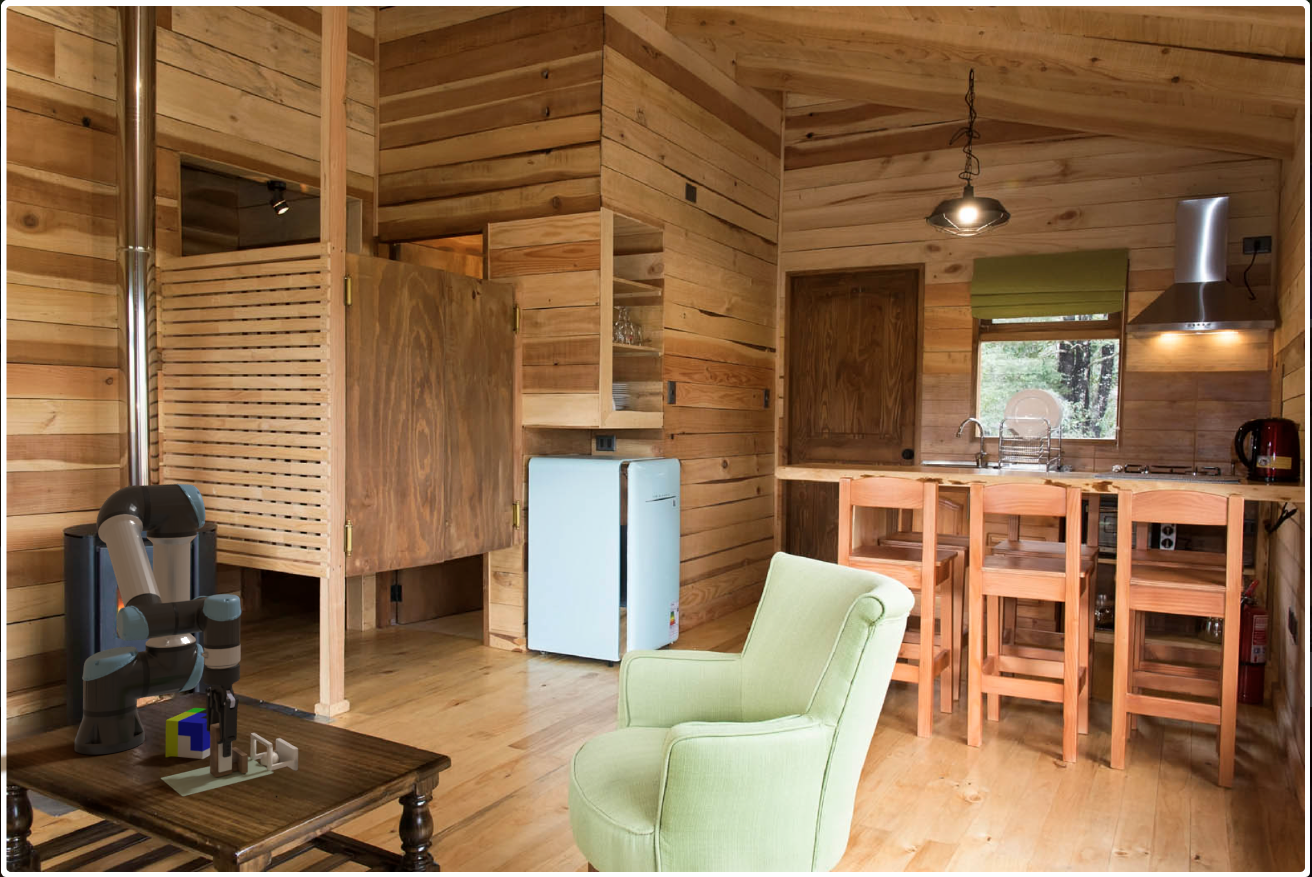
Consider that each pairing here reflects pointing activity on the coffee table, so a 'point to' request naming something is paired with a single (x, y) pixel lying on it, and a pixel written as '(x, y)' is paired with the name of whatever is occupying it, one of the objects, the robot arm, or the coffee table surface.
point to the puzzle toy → (188, 735)
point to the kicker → (237, 755)
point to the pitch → (206, 781)
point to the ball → (274, 759)
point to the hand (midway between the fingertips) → (221, 767)
